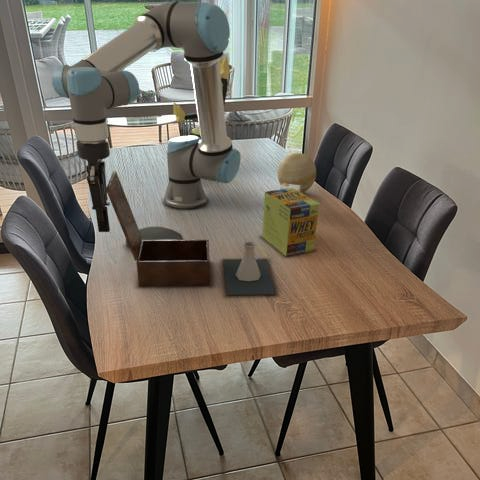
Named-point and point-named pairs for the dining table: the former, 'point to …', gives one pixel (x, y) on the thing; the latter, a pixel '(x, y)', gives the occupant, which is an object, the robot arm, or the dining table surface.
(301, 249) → the protein box
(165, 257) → the open wooden box
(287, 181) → the beige round ball
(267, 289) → the place mat
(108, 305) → the dining table surface
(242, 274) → the flask
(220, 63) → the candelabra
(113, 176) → the lid
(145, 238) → the dark grey disc
